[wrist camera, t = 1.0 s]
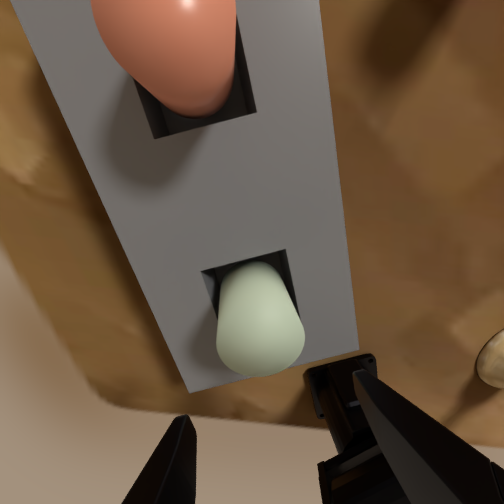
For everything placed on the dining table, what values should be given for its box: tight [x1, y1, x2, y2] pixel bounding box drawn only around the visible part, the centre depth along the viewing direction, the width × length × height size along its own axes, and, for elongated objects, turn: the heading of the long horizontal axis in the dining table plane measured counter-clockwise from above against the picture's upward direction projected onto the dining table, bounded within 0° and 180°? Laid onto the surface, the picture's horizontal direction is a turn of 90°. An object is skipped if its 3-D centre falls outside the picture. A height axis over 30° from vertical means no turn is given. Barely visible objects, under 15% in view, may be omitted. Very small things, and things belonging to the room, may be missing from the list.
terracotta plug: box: [90, 0, 236, 119], centre depth 9 cm, size 4×4×5 cm
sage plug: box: [216, 260, 305, 377], centre depth 13 cm, size 4×4×5 cm
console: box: [10, 0, 359, 393], centre depth 15 cm, size 24×12×5 cm, turn 14°
